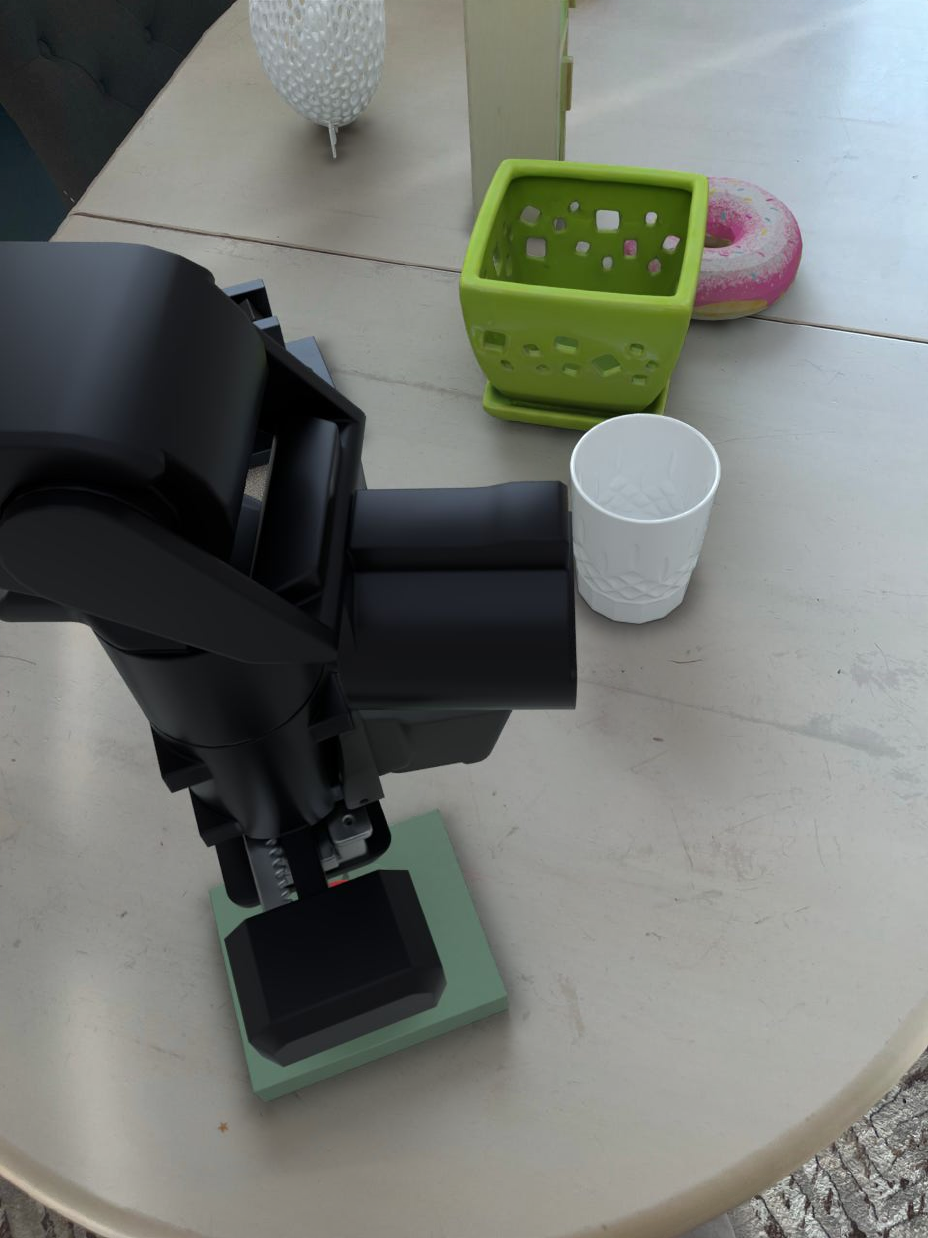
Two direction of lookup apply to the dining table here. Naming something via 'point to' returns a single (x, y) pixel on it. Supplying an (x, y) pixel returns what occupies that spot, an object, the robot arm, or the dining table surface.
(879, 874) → the dining table surface
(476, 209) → the toy refrigerator
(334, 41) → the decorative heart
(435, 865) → the button housing
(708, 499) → the white cup
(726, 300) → the donut
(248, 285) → the lever base
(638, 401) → the flower pot
